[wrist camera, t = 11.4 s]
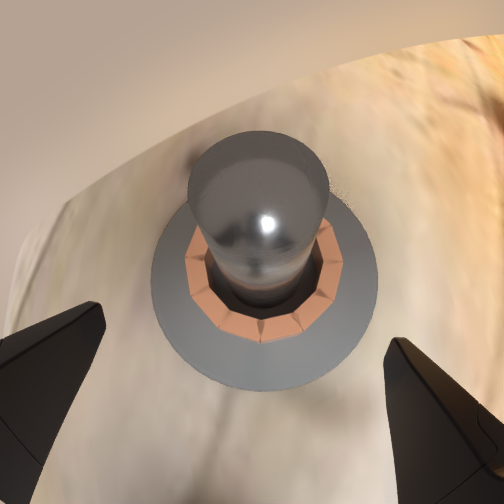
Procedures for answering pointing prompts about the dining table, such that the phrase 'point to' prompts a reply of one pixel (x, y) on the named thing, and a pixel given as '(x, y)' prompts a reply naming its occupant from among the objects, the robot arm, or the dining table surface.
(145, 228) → the dining table surface
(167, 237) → the slate seat plate
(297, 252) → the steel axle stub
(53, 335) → the robot arm
